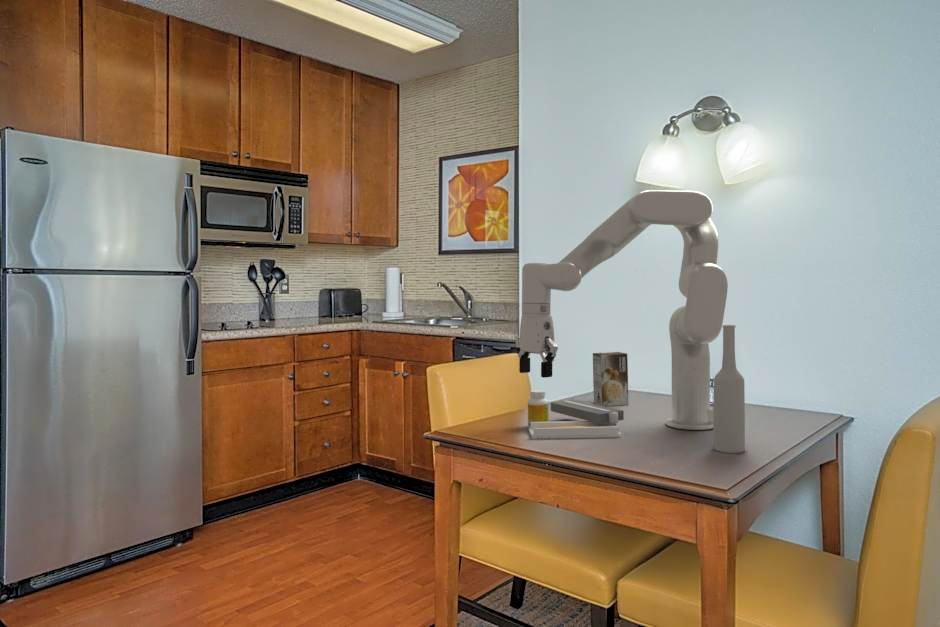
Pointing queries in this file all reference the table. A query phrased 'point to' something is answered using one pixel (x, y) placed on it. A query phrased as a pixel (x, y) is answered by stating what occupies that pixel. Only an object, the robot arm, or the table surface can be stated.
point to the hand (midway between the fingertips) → (535, 374)
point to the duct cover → (588, 411)
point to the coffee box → (610, 378)
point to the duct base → (573, 430)
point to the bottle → (729, 400)
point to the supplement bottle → (537, 407)
